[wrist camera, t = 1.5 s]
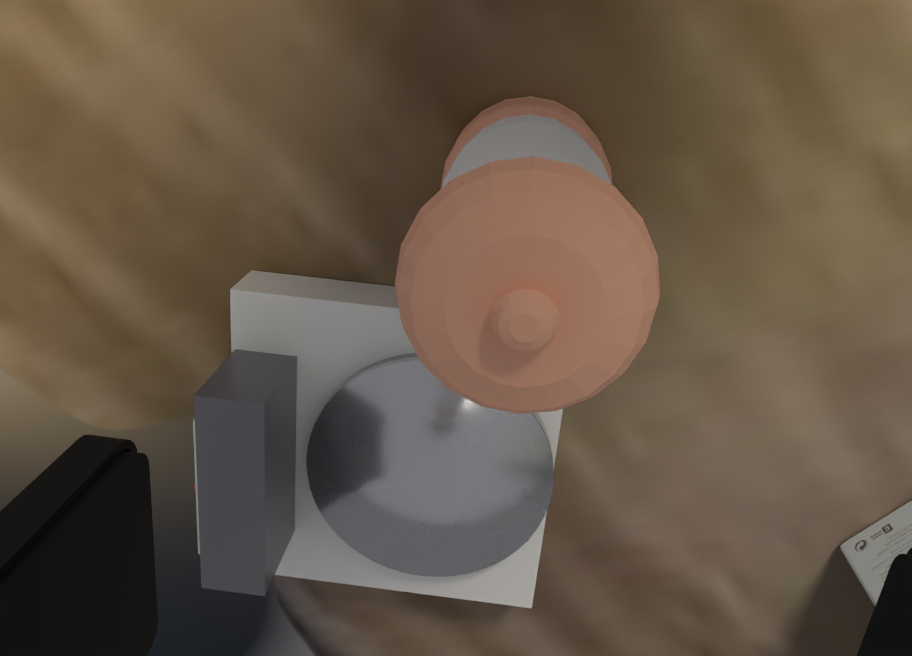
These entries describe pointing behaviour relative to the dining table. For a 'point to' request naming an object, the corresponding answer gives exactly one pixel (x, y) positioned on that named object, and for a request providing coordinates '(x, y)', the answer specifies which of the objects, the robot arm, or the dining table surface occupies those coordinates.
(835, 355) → the dining table surface
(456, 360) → the salt shaker
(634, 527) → the dining table surface
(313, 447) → the scale pan
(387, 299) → the base
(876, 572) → the supplement box
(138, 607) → the robot arm
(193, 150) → the dining table surface
